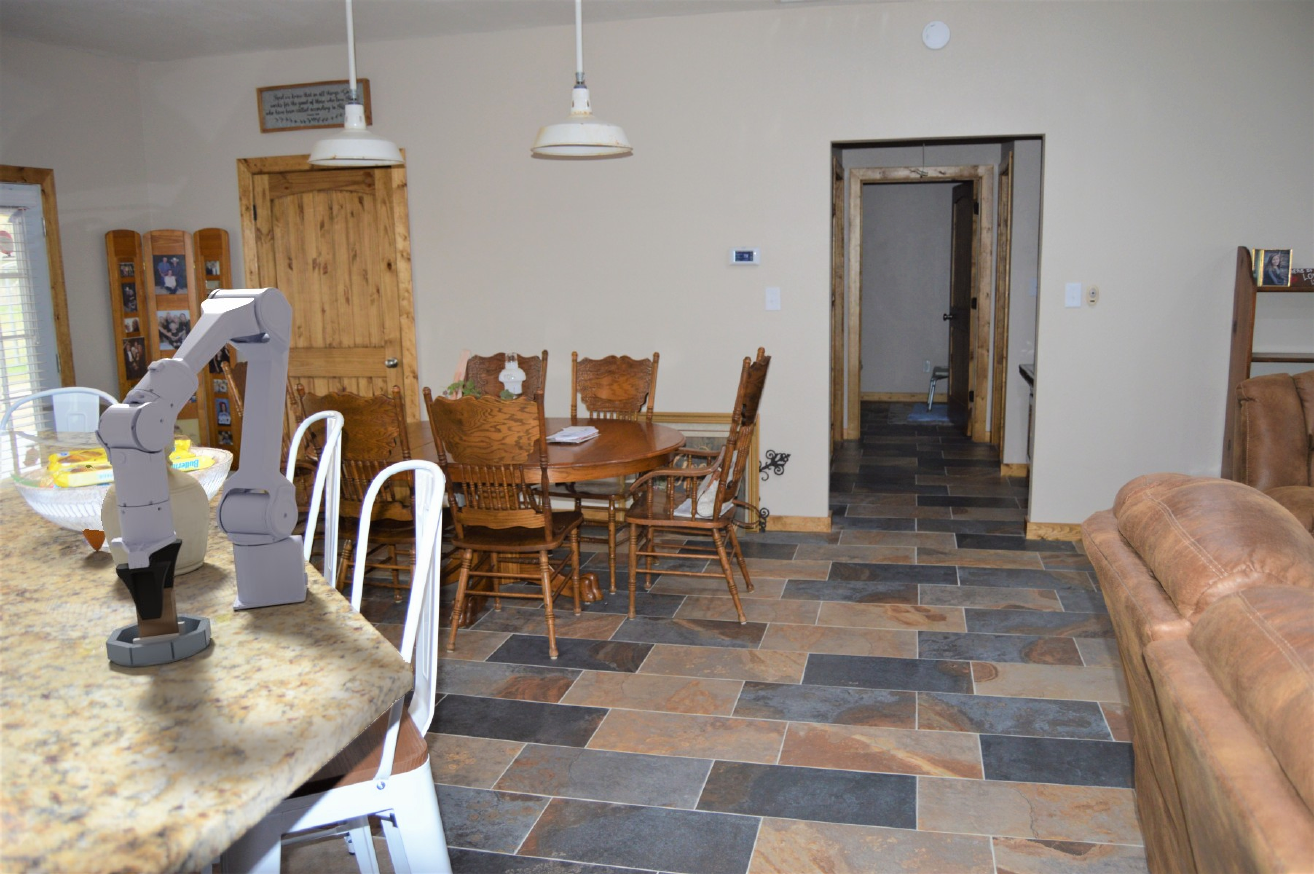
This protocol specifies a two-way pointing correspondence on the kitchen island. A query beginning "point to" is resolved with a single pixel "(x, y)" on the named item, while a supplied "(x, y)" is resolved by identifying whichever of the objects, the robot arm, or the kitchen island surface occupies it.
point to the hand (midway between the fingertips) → (157, 608)
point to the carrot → (94, 535)
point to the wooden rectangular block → (167, 620)
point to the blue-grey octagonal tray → (159, 643)
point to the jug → (186, 514)
